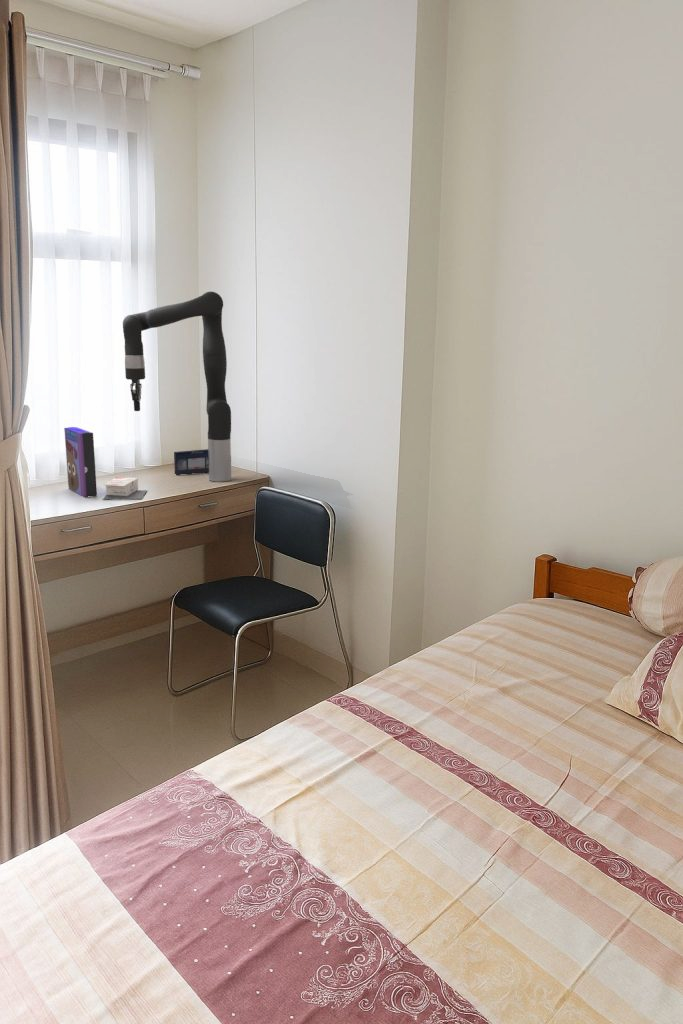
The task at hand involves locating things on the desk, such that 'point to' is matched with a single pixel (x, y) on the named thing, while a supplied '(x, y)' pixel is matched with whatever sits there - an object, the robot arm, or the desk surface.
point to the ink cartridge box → (121, 486)
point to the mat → (135, 495)
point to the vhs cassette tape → (191, 462)
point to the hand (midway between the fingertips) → (137, 410)
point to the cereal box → (80, 461)
